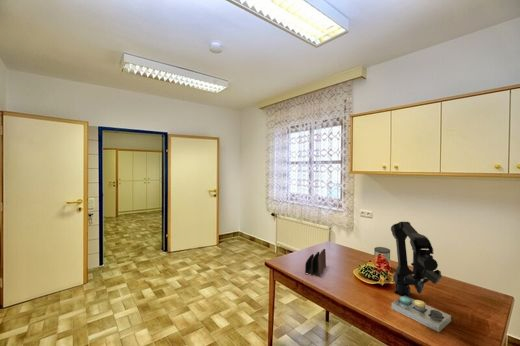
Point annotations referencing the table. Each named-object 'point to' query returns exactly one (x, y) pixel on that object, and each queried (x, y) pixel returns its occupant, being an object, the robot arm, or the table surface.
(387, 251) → the coffee can
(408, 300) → the button teal
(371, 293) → the table surface
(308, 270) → the letter holder
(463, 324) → the table surface
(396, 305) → the console panel
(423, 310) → the button mustard
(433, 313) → the button black
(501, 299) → the table surface
